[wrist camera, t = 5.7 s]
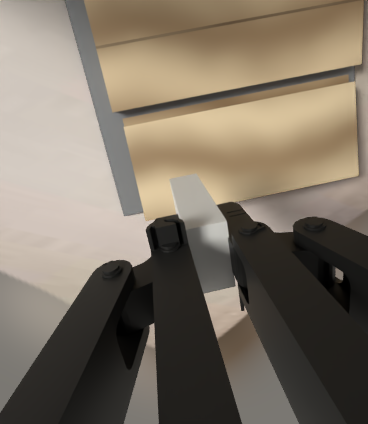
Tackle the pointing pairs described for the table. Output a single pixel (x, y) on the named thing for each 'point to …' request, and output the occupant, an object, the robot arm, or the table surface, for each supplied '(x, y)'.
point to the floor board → (217, 44)
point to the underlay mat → (113, 122)
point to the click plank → (247, 144)
